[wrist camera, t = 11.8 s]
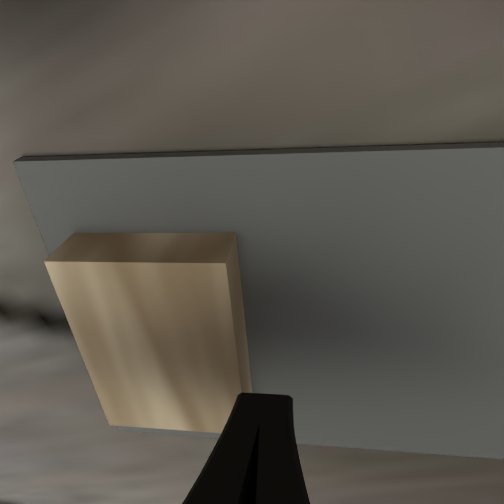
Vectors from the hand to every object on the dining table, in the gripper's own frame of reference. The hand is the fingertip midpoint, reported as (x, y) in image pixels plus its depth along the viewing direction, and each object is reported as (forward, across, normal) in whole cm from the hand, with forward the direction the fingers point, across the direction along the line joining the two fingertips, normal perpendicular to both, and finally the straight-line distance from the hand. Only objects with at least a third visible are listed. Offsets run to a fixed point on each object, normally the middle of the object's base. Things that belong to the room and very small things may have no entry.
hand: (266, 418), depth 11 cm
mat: (+4, -1, 0) cm, 4 cm away
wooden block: (+2, +1, 0) cm, 3 cm away
